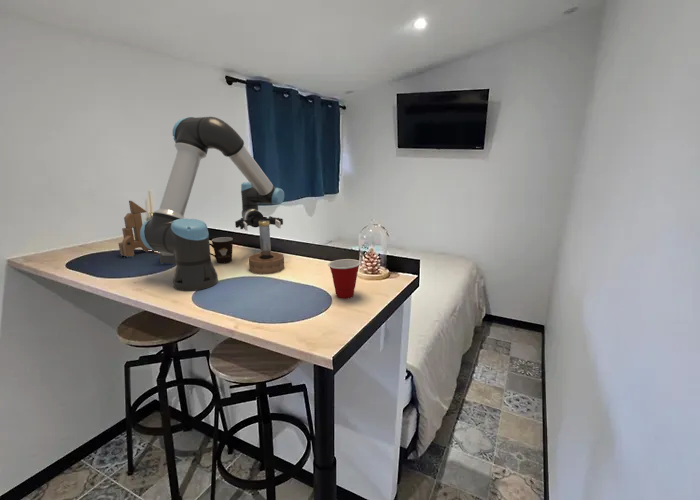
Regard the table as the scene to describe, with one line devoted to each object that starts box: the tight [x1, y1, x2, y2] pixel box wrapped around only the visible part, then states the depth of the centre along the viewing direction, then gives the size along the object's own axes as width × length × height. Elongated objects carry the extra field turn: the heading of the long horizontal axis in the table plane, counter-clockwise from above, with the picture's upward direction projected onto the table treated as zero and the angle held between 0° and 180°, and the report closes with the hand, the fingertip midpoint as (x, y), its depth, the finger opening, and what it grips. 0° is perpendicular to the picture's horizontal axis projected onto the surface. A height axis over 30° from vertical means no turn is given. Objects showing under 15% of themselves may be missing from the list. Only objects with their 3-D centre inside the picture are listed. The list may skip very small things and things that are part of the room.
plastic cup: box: [327, 258, 361, 300], centre depth 122 cm, size 11×11×12 cm
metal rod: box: [258, 220, 272, 259], centre depth 149 cm, size 4×4×20 cm
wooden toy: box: [118, 200, 154, 257], centre depth 168 cm, size 16×7×25 cm, turn 143°
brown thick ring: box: [248, 251, 285, 275], centre depth 151 cm, size 14×14×5 cm
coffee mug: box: [209, 236, 234, 265], centre depth 159 cm, size 12×9×10 cm
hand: (263, 226), depth 150 cm, fingers open, 13 cm apart
